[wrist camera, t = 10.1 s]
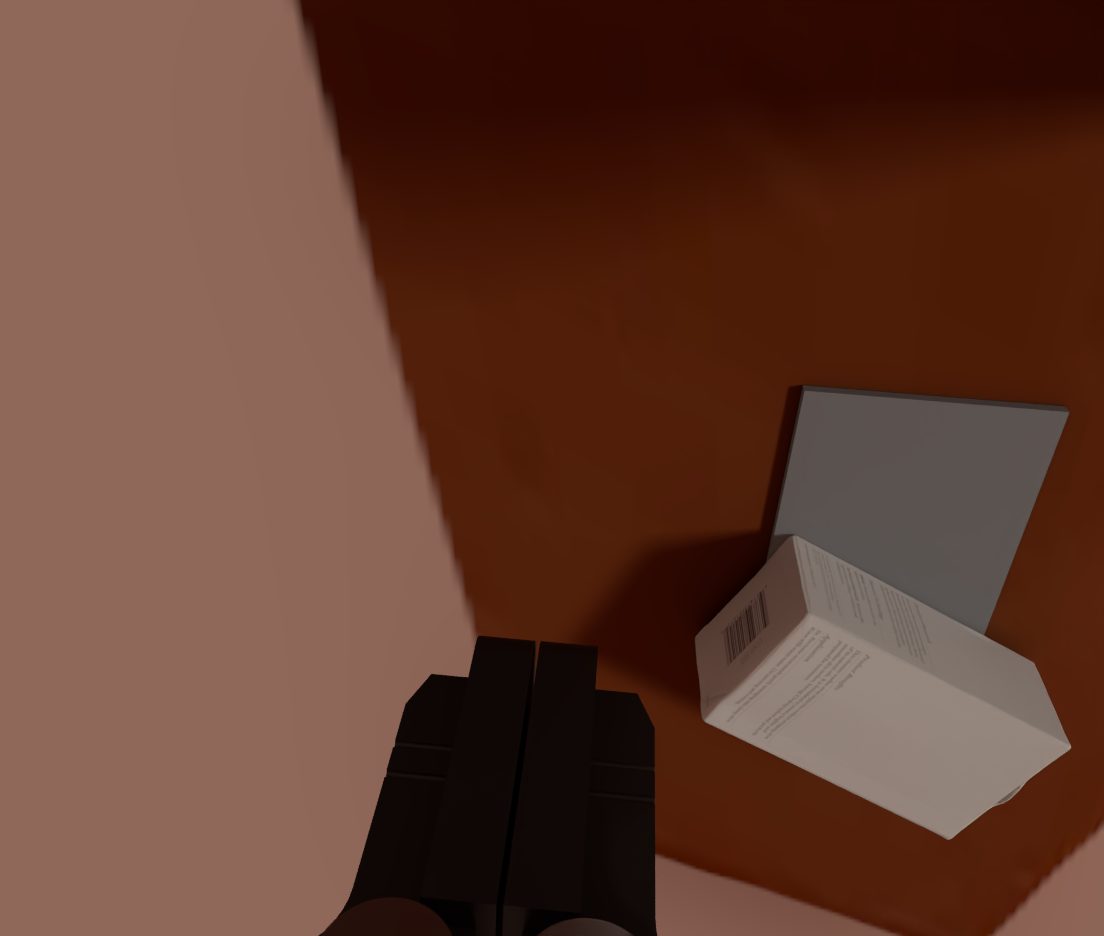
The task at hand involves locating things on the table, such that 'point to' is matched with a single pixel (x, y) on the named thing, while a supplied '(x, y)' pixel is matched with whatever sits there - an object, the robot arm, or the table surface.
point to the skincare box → (874, 691)
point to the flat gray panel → (917, 489)
